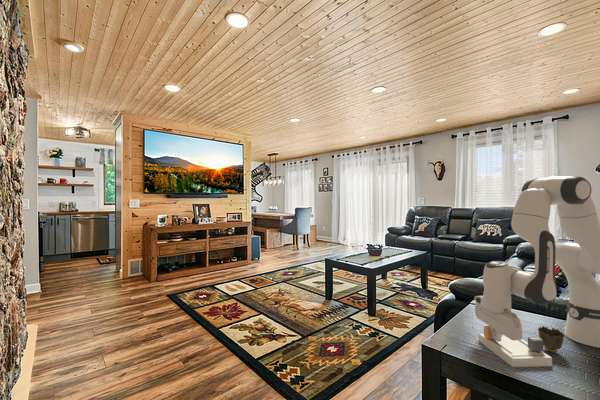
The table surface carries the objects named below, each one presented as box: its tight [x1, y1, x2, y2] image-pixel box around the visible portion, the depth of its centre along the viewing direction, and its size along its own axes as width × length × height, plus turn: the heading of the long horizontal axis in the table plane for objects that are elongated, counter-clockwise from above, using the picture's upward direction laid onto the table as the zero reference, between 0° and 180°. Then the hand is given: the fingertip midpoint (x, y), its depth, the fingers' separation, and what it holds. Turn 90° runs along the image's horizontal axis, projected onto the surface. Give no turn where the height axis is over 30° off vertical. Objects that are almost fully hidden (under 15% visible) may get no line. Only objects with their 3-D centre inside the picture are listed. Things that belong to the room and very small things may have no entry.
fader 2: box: [527, 336, 544, 352], centre depth 103 cm, size 4×2×4 cm, turn 92°
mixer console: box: [478, 332, 553, 368], centre depth 107 cm, size 14×18×3 cm
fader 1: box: [483, 325, 493, 339], centre depth 112 cm, size 4×2×4 cm, turn 92°
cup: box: [537, 325, 565, 354], centre depth 107 cm, size 8×7×8 cm
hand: (496, 340), depth 108 cm, fingers closed
